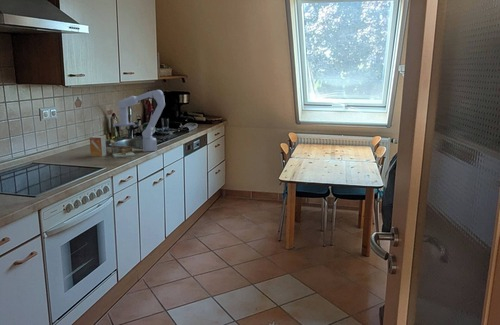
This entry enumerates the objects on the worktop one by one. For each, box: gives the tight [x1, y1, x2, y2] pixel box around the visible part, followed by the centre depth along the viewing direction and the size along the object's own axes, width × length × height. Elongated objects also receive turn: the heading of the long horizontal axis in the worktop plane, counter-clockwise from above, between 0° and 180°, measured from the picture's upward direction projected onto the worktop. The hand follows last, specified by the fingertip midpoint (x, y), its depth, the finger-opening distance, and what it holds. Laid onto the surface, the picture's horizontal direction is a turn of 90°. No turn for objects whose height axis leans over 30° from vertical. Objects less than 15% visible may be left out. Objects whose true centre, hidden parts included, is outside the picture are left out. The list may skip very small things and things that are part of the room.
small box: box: [89, 135, 107, 158], centre depth 275 cm, size 8×6×13 cm
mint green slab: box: [112, 149, 136, 158], centre depth 275 cm, size 13×8×4 cm, turn 117°
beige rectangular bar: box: [109, 139, 116, 146], centre depth 293 cm, size 2×12×2 cm, turn 24°
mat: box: [112, 154, 135, 159], centre depth 275 cm, size 14×9×1 cm, turn 114°
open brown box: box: [110, 145, 133, 155], centre depth 284 cm, size 13×11×4 cm
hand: (125, 136), depth 290 cm, fingers open, 7 cm apart
